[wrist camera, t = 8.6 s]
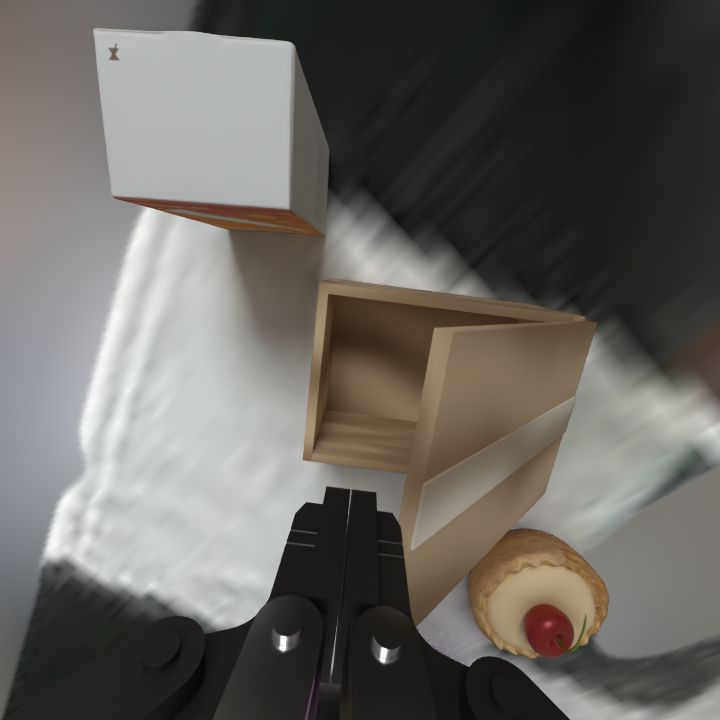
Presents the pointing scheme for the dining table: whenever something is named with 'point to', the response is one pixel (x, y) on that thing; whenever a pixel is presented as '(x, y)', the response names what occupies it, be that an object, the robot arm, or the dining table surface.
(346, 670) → the robot arm
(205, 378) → the dining table surface
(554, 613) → the pastry
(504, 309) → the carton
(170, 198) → the small box
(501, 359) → the lid
